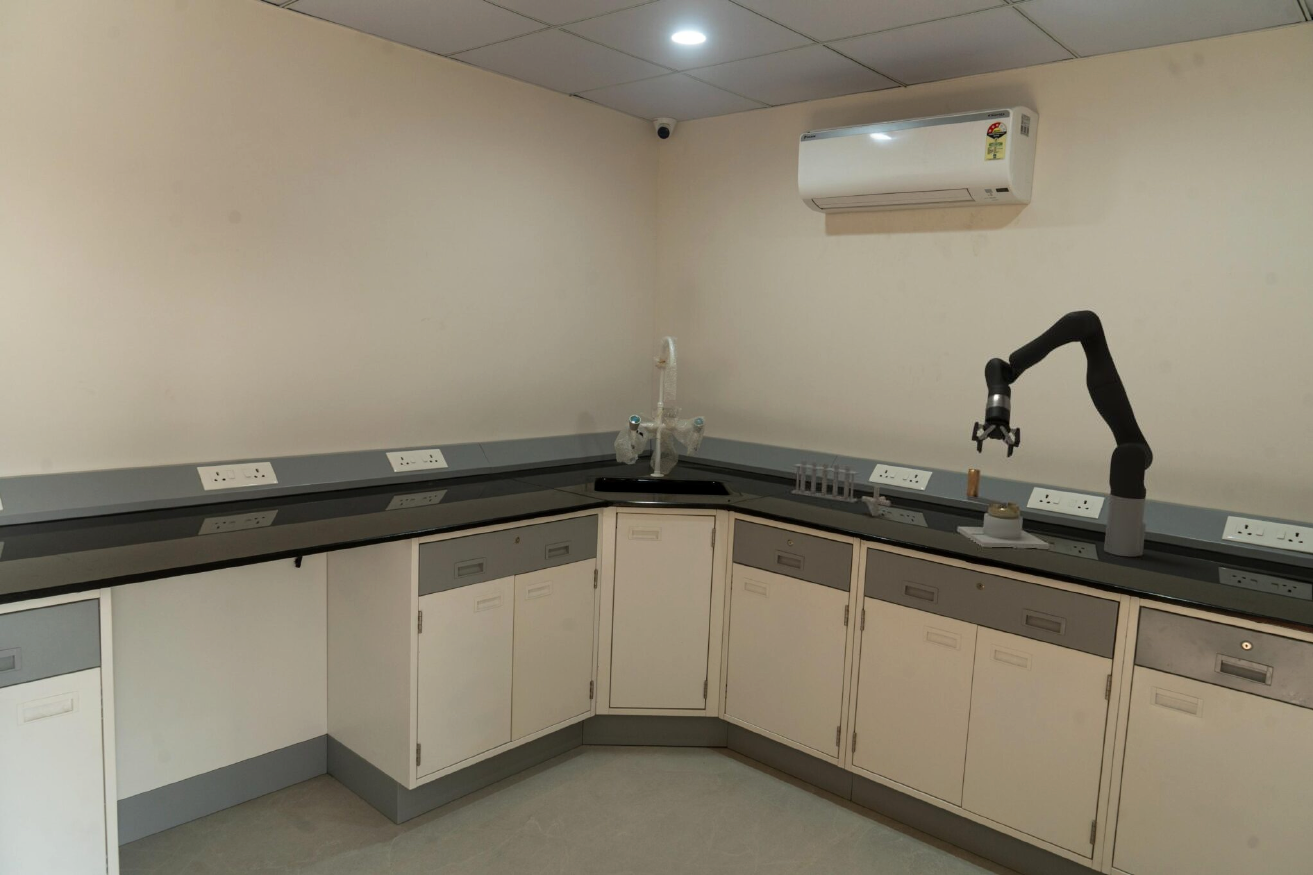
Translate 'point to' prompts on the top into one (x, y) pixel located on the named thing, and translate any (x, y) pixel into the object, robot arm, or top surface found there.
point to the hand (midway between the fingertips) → (994, 453)
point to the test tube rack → (825, 481)
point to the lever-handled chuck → (995, 506)
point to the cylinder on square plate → (1002, 534)
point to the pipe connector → (876, 501)
